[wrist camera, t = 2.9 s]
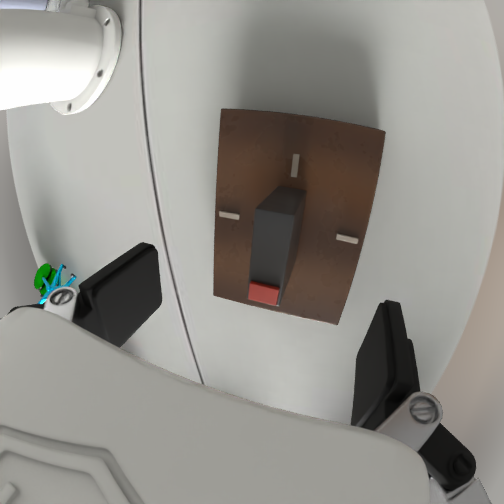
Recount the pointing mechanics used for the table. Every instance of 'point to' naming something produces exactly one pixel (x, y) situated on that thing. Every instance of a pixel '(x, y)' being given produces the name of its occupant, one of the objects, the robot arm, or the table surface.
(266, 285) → the pointer knob
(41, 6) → the lavender bottle
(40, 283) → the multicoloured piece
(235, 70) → the table surface
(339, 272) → the dial panel
